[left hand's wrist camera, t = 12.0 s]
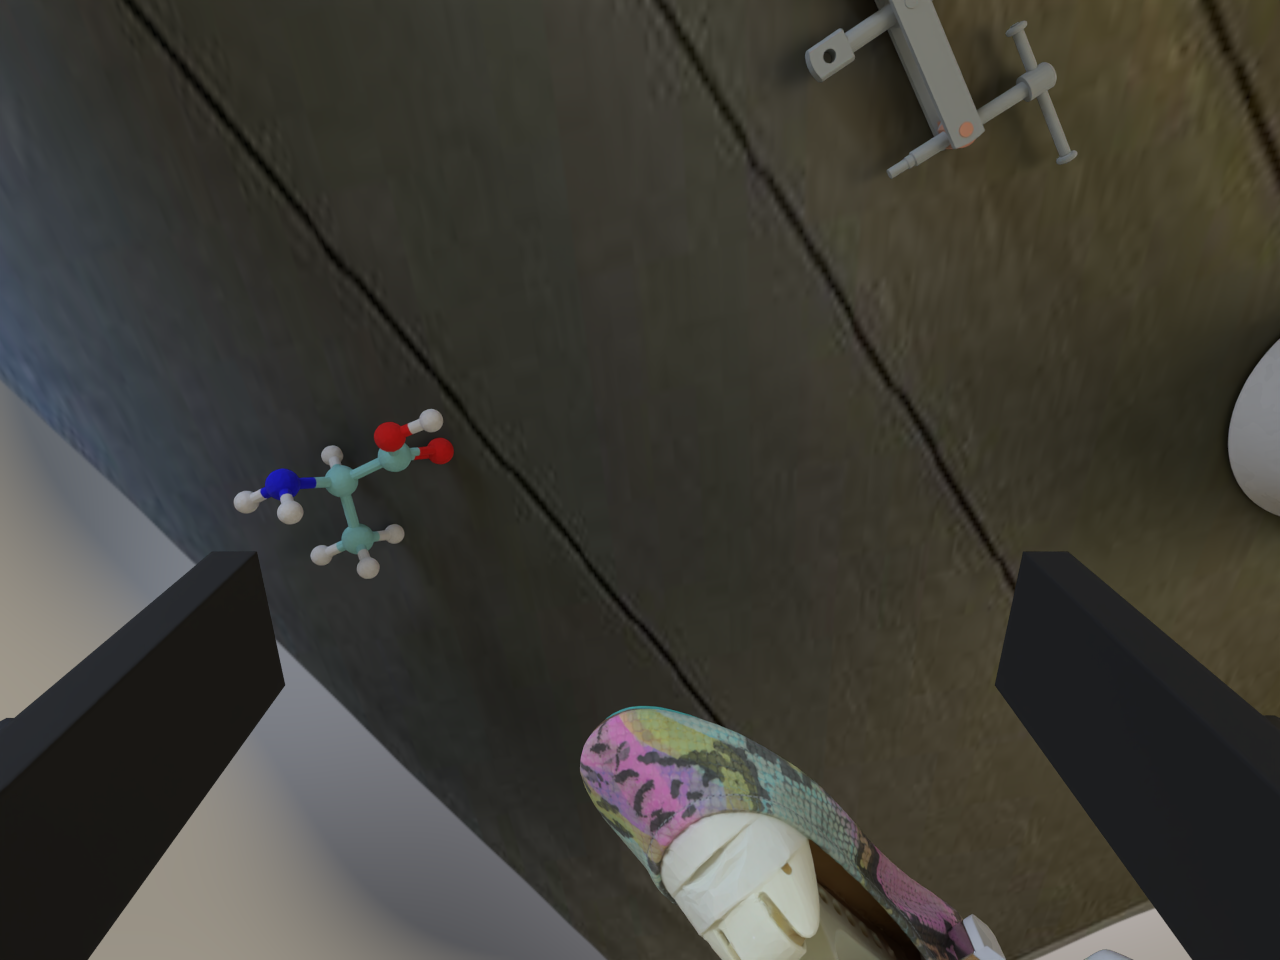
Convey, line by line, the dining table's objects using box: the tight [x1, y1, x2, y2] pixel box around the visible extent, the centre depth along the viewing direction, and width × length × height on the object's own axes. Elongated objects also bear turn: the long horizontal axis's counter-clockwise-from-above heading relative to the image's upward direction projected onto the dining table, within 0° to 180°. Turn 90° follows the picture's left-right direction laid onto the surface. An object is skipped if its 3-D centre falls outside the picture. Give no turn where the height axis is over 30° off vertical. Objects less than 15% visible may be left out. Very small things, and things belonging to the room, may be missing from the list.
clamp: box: [805, 0, 1077, 179], centre depth 37 cm, size 15×2×10 cm
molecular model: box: [234, 409, 454, 579], centre depth 42 cm, size 12×10×10 cm
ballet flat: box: [580, 706, 963, 960], centre depth 33 cm, size 8×24×9 cm, turn 47°
